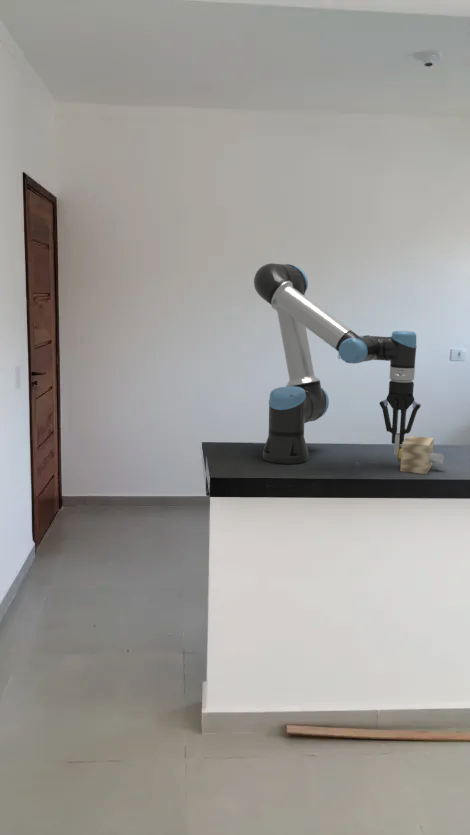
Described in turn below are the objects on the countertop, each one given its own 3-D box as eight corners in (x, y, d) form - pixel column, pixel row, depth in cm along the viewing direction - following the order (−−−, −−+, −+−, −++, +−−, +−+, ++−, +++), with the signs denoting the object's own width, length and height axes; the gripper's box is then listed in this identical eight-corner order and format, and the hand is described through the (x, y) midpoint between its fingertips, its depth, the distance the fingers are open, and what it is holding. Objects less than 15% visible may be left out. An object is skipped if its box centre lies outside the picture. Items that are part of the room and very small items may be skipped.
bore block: (400, 471, 217) (402, 442, 215) (406, 462, 228) (408, 435, 226) (426, 474, 214) (428, 445, 212) (432, 465, 225) (433, 438, 223)
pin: (397, 463, 220) (398, 448, 219) (400, 460, 225) (401, 444, 224) (441, 468, 215) (442, 452, 214) (443, 464, 220) (444, 449, 219)
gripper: (378, 380, 217) (374, 454, 221) (420, 383, 212) (415, 458, 216) (383, 378, 224) (379, 449, 228) (424, 380, 219) (419, 453, 223)
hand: (397, 453), depth 222 cm, fingers closed
